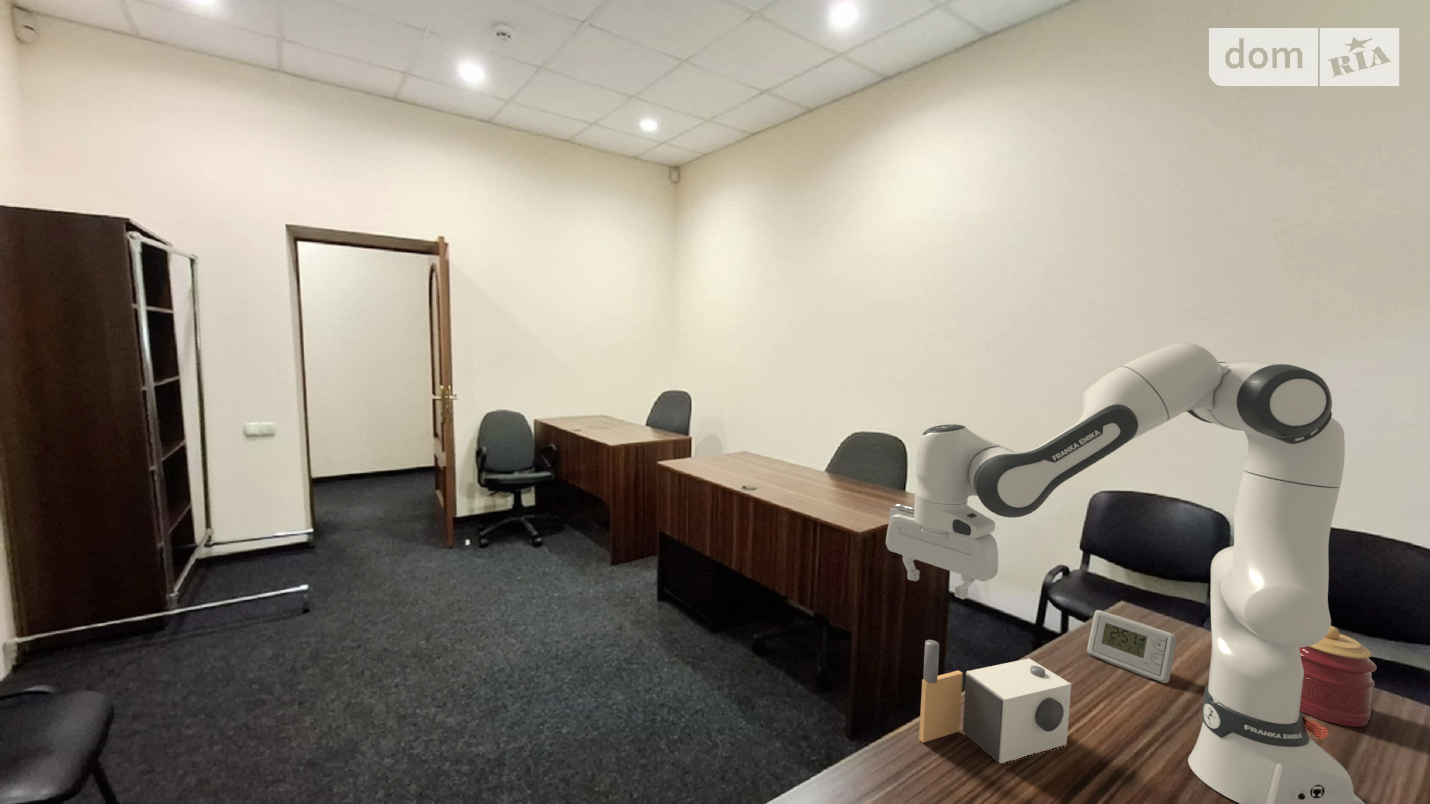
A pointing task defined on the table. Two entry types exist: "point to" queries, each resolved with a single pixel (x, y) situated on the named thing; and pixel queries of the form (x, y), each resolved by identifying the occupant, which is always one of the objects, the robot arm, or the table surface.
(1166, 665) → the digital clock
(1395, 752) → the table surface
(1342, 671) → the canister
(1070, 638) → the table surface
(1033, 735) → the camera case
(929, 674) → the wooden flat board
